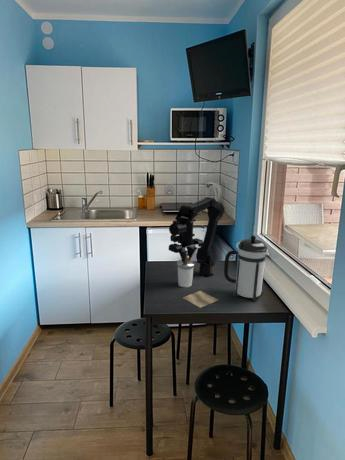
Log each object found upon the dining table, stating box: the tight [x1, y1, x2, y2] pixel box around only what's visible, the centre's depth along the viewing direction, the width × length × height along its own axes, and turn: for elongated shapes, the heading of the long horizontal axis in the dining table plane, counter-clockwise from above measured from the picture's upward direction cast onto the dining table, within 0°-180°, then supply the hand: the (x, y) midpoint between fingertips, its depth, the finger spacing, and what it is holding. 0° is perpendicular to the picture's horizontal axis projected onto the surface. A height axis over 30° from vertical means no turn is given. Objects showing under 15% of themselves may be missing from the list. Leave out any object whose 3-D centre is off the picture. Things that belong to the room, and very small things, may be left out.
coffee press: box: [223, 234, 270, 303], centre depth 154 cm, size 17×16×30 cm
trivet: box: [182, 290, 219, 309], centre depth 152 cm, size 12×12×1 cm
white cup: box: [177, 265, 195, 288], centre depth 166 cm, size 8×8×10 cm
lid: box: [176, 254, 196, 267], centre depth 163 cm, size 9×9×5 cm
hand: (185, 261), depth 164 cm, fingers closed on lid, 3 cm apart
